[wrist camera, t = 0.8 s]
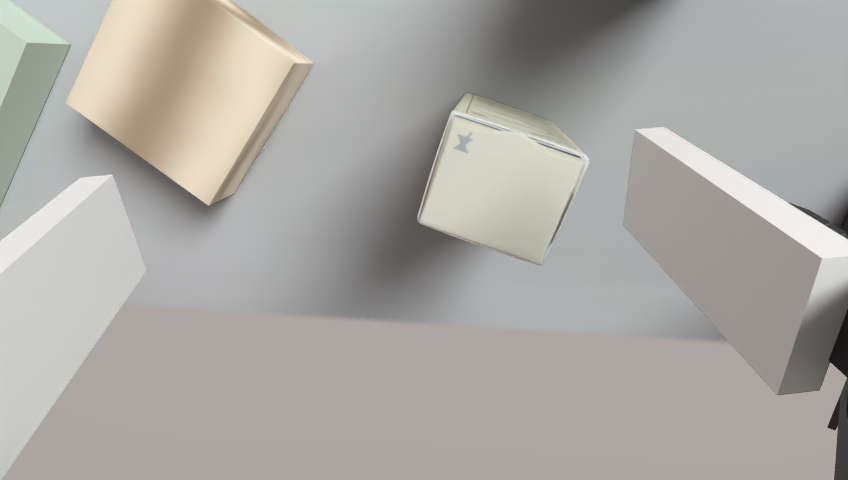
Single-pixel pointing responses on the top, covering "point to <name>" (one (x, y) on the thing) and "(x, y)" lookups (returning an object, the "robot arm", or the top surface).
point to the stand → (189, 88)
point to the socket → (23, 81)
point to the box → (502, 179)
